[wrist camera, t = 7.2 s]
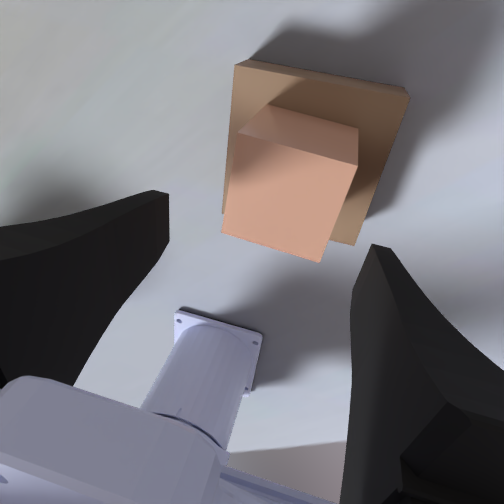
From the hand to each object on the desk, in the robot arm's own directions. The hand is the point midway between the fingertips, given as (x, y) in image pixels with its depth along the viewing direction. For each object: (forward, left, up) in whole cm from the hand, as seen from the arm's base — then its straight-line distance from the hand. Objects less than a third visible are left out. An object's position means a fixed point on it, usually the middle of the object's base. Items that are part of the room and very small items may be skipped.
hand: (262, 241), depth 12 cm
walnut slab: (0, 0, -10) cm, 10 cm away
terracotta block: (0, 0, -7) cm, 7 cm away
